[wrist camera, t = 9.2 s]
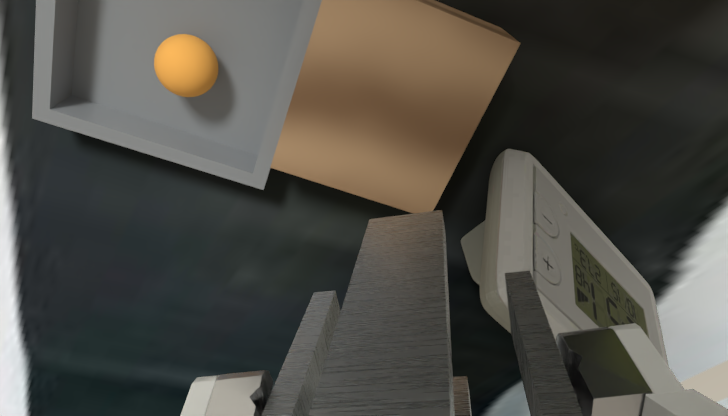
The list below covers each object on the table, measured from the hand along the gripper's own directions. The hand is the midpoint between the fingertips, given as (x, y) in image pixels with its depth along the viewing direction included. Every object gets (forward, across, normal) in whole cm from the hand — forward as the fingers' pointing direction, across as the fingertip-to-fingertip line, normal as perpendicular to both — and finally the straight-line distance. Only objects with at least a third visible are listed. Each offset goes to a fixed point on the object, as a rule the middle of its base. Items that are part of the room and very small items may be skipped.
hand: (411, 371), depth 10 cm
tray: (+19, +9, -5) cm, 22 cm away
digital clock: (+20, -10, +12) cm, 25 cm away
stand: (+19, 0, 0) cm, 19 cm away
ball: (+18, +9, -3) cm, 20 cm away
